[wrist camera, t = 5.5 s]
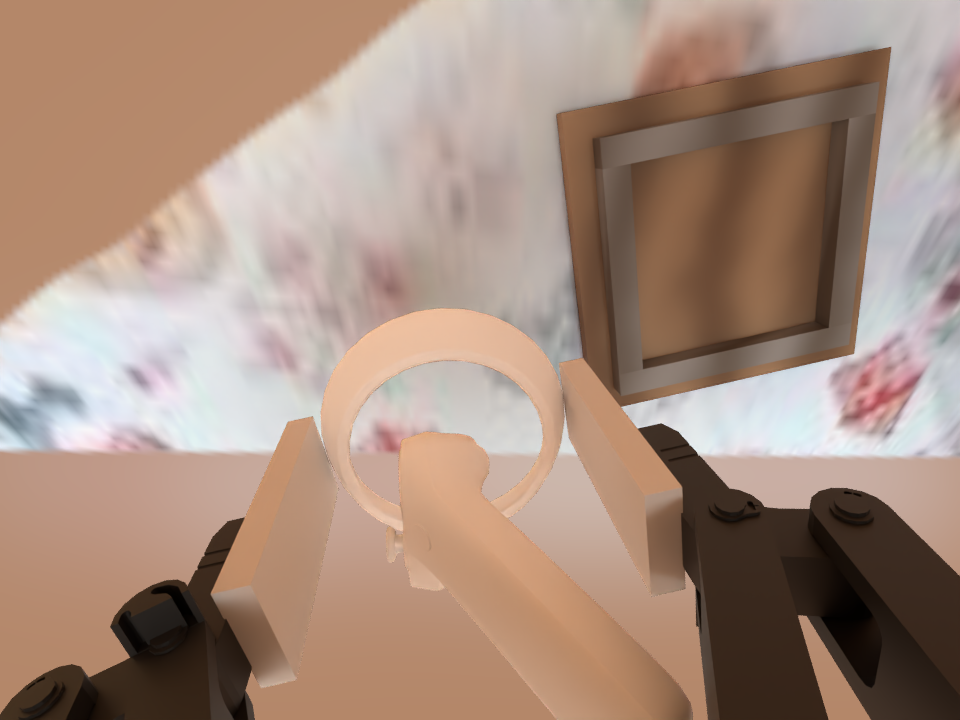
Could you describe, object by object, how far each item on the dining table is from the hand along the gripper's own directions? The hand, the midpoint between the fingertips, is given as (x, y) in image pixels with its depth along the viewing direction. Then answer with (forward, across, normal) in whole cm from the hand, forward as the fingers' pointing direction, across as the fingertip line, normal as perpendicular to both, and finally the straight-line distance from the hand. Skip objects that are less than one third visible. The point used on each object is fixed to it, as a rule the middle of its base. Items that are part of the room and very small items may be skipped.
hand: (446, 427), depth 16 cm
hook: (0, 0, 0) cm, 0 cm away
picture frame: (+16, -18, +1) cm, 24 cm away
